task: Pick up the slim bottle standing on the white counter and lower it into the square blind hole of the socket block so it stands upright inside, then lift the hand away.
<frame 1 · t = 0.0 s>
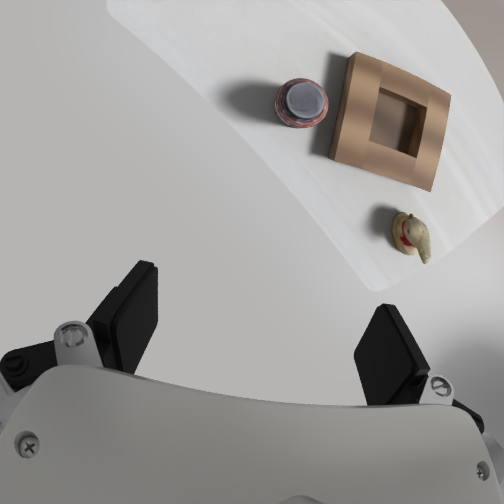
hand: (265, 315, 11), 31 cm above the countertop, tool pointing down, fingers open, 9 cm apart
socket block: (388, 122, 34), on the countertop
chocolate bunny: (403, 230, 42), on the countertop
supplement bottle: (295, 108, 35), on the countertop
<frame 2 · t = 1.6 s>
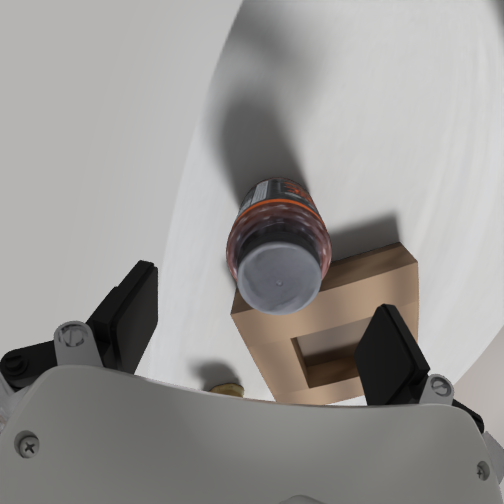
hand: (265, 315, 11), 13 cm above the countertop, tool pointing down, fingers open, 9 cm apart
socket block: (334, 329, 28), on the countertop
chocolate bunny: (225, 394, 34), on the countertop
supplement bottle: (278, 210, 23), on the countertop
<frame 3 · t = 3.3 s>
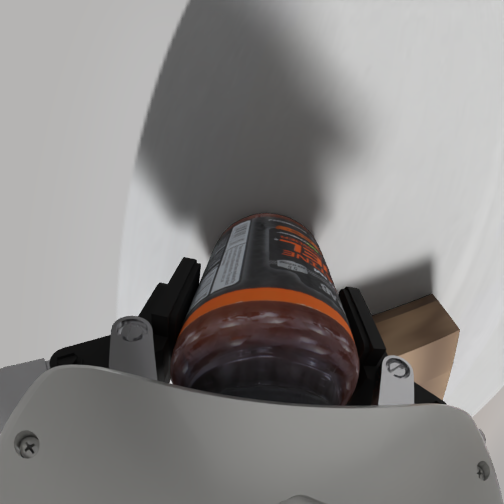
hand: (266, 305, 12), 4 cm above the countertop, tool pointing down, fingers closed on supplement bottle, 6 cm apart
socket block: (340, 395, 20), on the countertop
supplement bottle: (266, 259, 16), on the countertop, touching gripper
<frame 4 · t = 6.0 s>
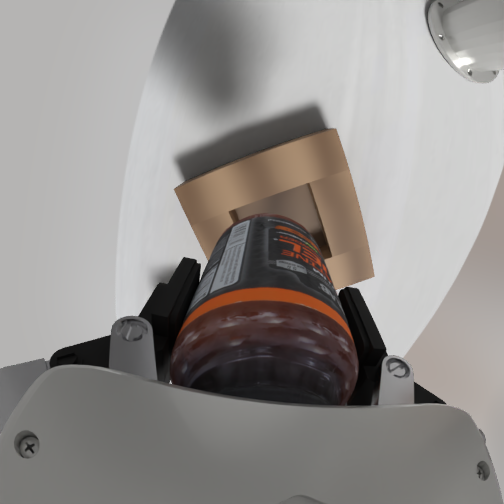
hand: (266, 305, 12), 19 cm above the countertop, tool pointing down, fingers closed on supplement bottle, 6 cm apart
socket block: (280, 221, 31), on the countertop
supplement bottle: (266, 259, 16), point 15 cm above the countertop, touching gripper
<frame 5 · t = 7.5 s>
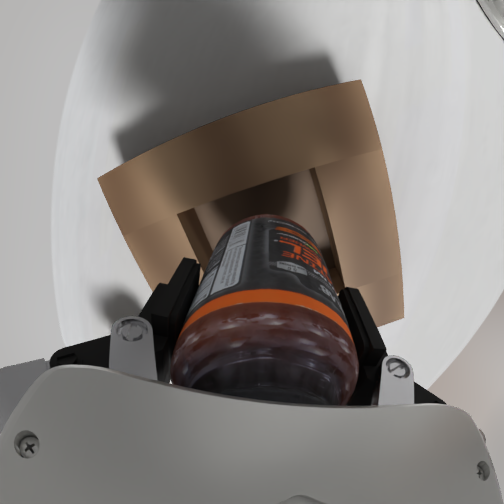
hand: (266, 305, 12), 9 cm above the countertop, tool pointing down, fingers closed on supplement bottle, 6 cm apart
socket block: (266, 230, 20), on the countertop
supplement bottle: (266, 260, 16), point 5 cm above the countertop, touching gripper
when the fingers open (6 cm above the countertop, at t = 8.5 s): supplement bottle stays where it is, resting on socket block.
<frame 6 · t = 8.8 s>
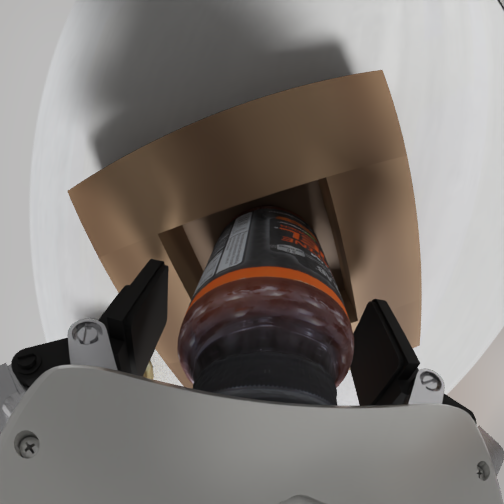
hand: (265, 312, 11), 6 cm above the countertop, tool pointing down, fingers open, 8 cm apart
socket block: (266, 248, 17), on the countertop
supplement bottle: (267, 250, 16), point 1 cm above the countertop, touching socket block
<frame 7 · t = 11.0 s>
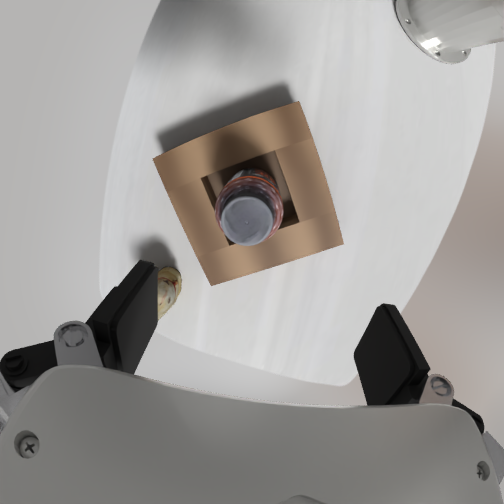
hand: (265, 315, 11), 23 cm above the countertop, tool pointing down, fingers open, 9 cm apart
socket block: (252, 191, 32), on the countertop
chocolate bunny: (165, 285, 38), on the countertop
supplement bottle: (252, 191, 32), point 1 cm above the countertop, touching socket block
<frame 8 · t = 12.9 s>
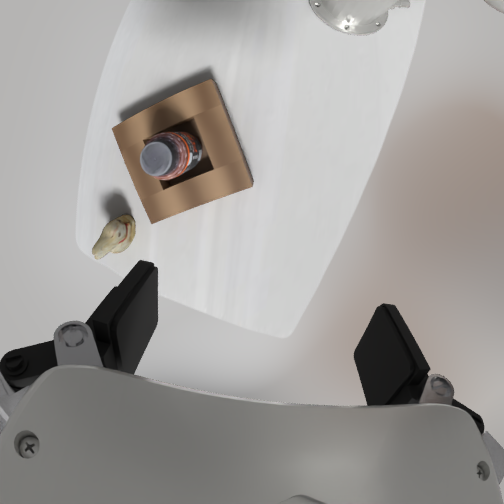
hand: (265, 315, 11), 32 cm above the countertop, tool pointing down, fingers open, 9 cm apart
socket block: (185, 151, 39), on the countertop
chocolate bunny: (124, 231, 45), on the countertop
supplement bottle: (184, 150, 39), point 1 cm above the countertop, touching socket block
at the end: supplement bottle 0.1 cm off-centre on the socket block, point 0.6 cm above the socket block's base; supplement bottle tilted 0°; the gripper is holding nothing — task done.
